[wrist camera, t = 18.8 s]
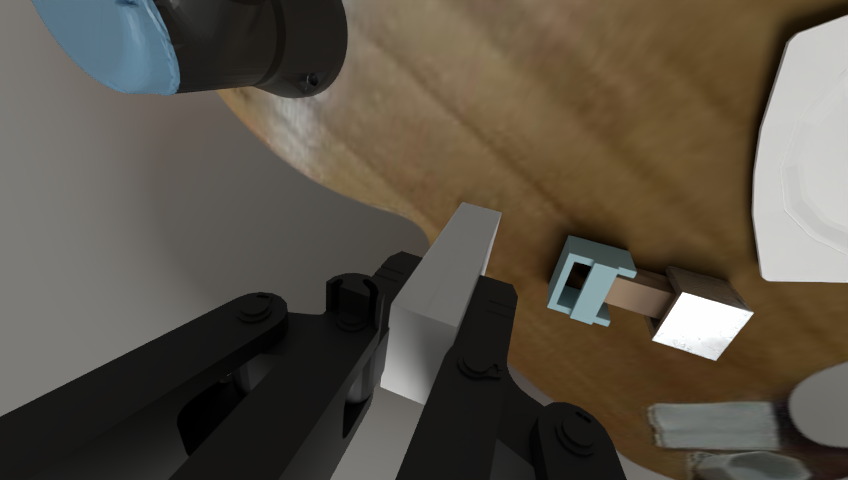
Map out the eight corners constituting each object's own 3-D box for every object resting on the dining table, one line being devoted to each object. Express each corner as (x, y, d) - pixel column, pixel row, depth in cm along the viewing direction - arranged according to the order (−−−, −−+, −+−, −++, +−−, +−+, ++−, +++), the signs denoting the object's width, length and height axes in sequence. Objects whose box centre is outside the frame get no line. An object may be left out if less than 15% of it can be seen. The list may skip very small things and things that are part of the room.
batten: (586, 279, 44) (588, 297, 41) (596, 255, 42) (600, 272, 39) (691, 310, 41) (702, 332, 38) (707, 287, 40) (721, 308, 36)
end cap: (642, 309, 43) (652, 340, 38) (668, 265, 40) (682, 292, 35) (698, 326, 42) (715, 360, 37) (729, 282, 38) (753, 312, 34)
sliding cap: (548, 285, 46) (546, 310, 41) (568, 234, 42) (569, 255, 37) (603, 302, 44) (608, 329, 40) (629, 251, 40) (638, 275, 36)
